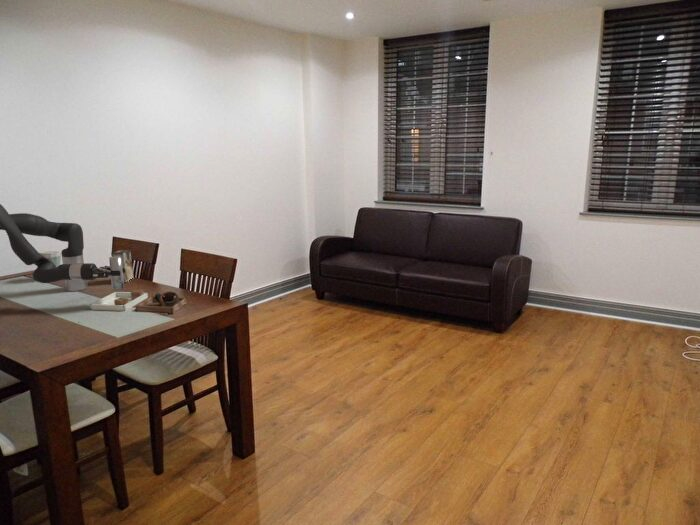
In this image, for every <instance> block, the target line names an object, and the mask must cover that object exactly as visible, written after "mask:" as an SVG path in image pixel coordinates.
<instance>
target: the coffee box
mask: <svg viewBox="0 0 700 525" xmlns="http://www.w3.org/2000/svg"><path fill="white" fill-rule="evenodd" d="M114 256H120V257H122V268H125V273H123V279H124V282H127V281H128V282H130V281H131V280H130V279H132V278H133V279H135V276H134V271H133V270H134V269H133V259H132V250H131V249H119V250H116V251H114V252H111V257H114ZM133 279H132V280H133ZM129 280H130V281H129ZM128 282H127V283H128Z"/></svg>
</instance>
